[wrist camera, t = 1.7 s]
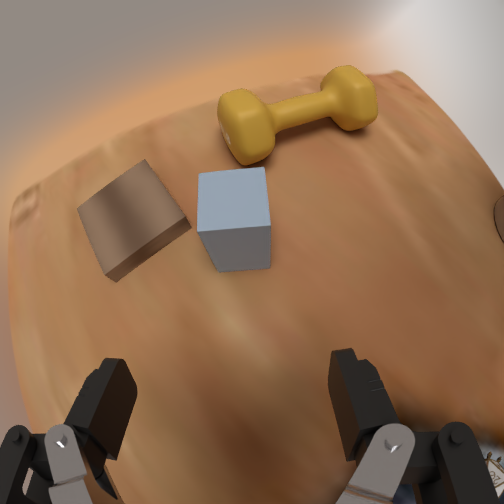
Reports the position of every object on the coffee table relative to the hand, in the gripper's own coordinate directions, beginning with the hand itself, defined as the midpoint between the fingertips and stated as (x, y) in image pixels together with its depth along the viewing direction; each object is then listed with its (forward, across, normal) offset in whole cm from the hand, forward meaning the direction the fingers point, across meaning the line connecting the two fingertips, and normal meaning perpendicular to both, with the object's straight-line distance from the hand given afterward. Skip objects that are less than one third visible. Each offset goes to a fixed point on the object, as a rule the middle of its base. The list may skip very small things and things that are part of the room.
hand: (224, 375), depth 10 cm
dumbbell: (+30, -8, -8) cm, 32 cm away
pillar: (+19, 0, +2) cm, 19 cm away
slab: (+22, +12, 0) cm, 25 cm away
